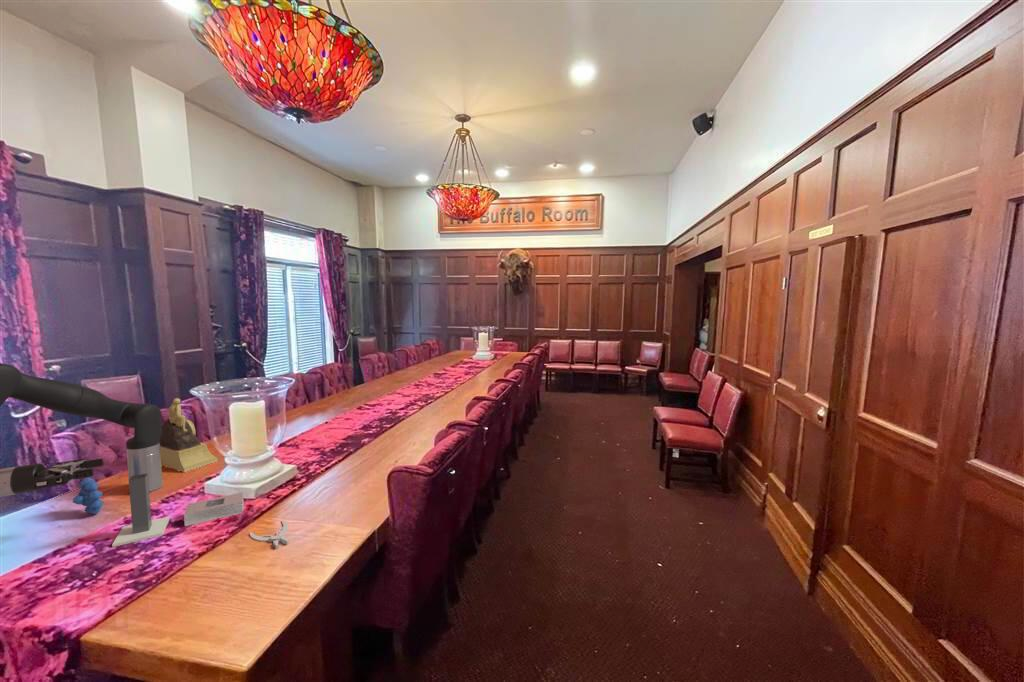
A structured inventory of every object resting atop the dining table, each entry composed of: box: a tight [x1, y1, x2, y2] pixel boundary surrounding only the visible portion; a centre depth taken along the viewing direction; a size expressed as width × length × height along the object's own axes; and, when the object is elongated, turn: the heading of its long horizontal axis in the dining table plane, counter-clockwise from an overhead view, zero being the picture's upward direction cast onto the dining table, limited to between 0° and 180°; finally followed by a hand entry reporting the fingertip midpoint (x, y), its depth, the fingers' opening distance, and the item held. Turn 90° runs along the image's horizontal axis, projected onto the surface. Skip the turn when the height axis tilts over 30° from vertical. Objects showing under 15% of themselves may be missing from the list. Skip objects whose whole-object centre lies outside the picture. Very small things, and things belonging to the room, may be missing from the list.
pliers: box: [249, 520, 290, 550], centre depth 117 cm, size 10×2×15 cm
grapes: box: [72, 477, 104, 515], centre depth 129 cm, size 12×7×12 cm, turn 65°
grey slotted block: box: [183, 492, 245, 527], centre depth 130 cm, size 8×15×4 cm, turn 123°
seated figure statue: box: [160, 397, 219, 473], centre depth 172 cm, size 28×13×30 cm, turn 67°
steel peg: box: [128, 473, 152, 534], centre depth 118 cm, size 4×4×17 cm
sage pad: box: [111, 516, 170, 548], centre depth 119 cm, size 11×11×1 cm
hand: (98, 466), depth 116 cm, fingers open, 8 cm apart
